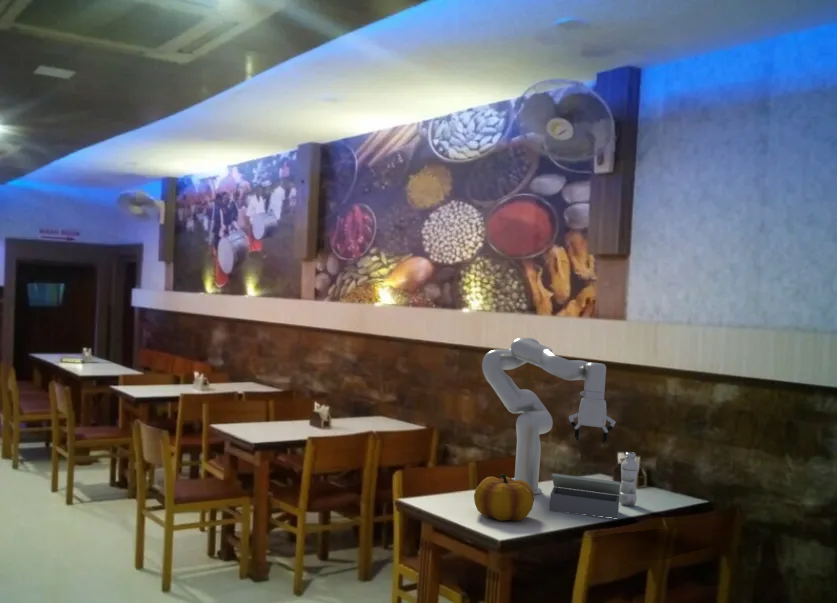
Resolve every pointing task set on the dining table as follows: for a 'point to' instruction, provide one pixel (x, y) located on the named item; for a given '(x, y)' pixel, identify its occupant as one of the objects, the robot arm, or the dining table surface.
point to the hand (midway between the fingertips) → (590, 441)
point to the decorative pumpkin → (504, 498)
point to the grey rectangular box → (584, 502)
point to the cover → (586, 484)
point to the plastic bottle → (628, 480)
